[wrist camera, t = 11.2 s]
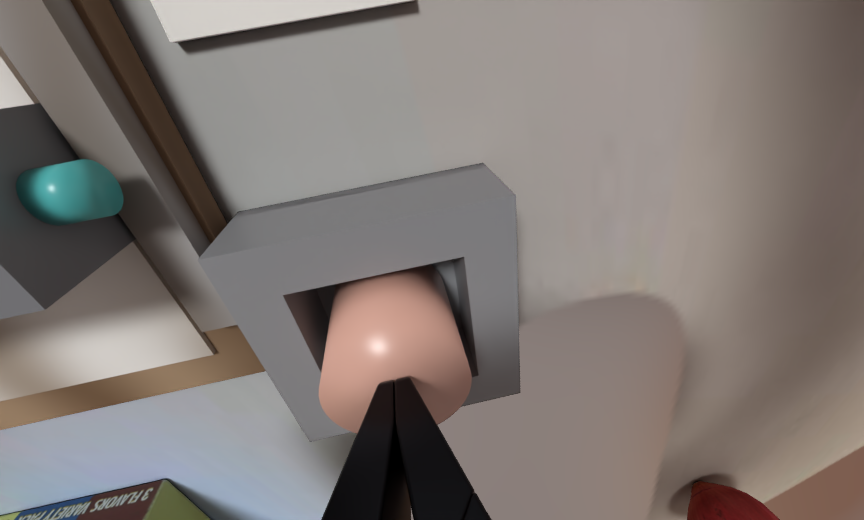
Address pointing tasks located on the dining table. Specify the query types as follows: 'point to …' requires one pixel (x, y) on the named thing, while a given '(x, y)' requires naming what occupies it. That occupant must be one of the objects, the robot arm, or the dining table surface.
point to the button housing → (372, 274)
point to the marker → (51, 213)
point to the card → (246, 14)
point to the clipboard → (143, 214)
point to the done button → (392, 345)
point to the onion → (724, 504)
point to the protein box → (120, 506)
